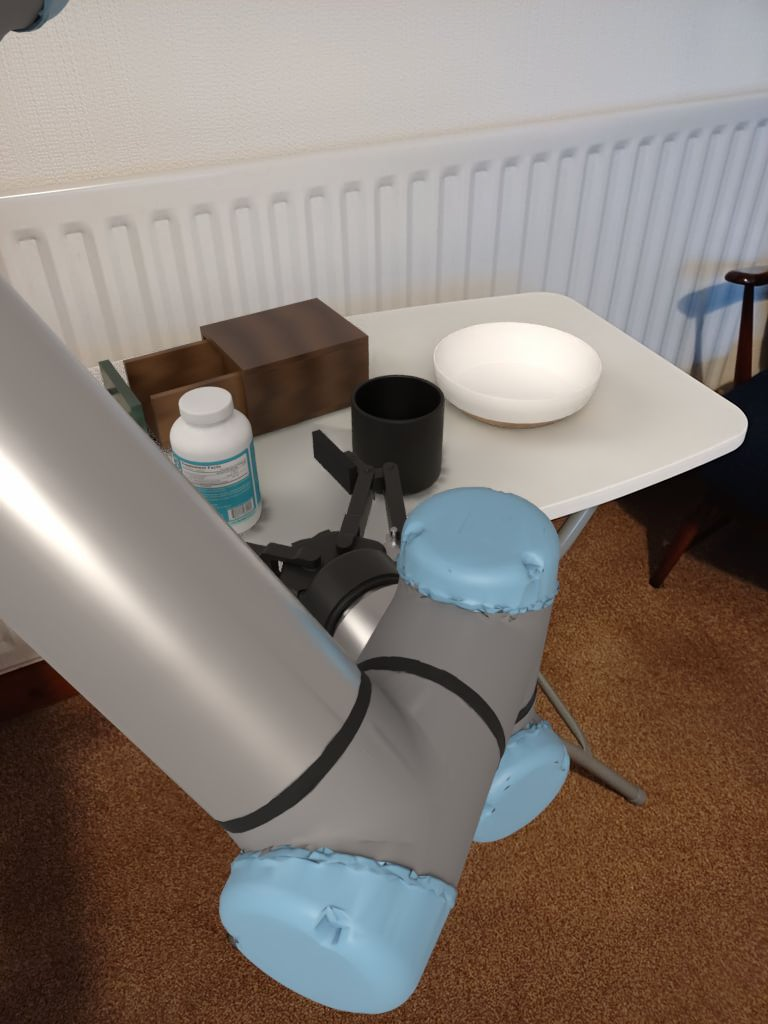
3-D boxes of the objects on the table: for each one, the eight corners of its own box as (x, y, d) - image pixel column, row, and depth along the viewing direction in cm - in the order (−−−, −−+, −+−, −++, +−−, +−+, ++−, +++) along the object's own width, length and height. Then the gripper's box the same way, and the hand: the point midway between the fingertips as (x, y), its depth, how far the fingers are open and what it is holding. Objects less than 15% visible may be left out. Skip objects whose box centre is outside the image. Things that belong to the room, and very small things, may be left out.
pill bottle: (207, 489, 81) (187, 373, 73) (274, 501, 80) (260, 384, 71) (173, 534, 76) (147, 414, 67) (244, 547, 74) (226, 426, 66)
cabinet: (251, 438, 89) (243, 370, 84) (209, 390, 97) (199, 326, 92) (369, 400, 95) (368, 335, 90) (320, 359, 104) (316, 297, 98)
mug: (473, 459, 86) (480, 386, 80) (399, 509, 79) (400, 433, 73) (409, 427, 91) (411, 356, 85) (334, 471, 84) (331, 397, 78)
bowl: (490, 467, 84) (495, 418, 81) (401, 387, 98) (402, 342, 94) (628, 420, 92) (639, 373, 88) (528, 352, 105) (533, 309, 101)
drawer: (96, 476, 82) (80, 420, 77) (67, 426, 89) (51, 373, 85) (266, 423, 90) (260, 370, 85) (227, 381, 97) (220, 331, 93)
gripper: (206, 743, 49) (108, 552, 63) (516, 594, 59) (372, 459, 74) (187, 664, 45) (85, 477, 59) (527, 518, 55) (371, 388, 69)
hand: (245, 466), depth 66 cm, fingers open, 13 cm apart
